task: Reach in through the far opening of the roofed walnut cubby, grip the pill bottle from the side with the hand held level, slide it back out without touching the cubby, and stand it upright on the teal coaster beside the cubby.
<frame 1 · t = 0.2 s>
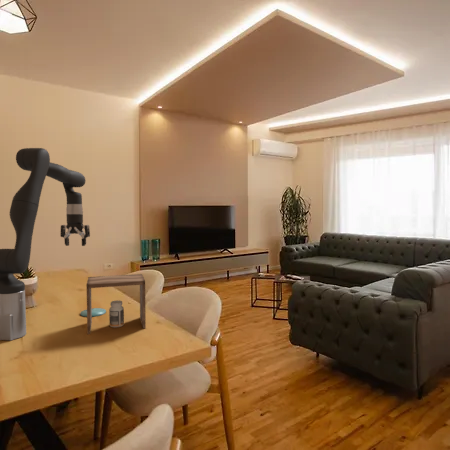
hand: (75, 245, 177), 29 cm above the table, tool pointing down, fingers open, 8 cm apart
pill bottle: (116, 325, 146), on the table
mat: (93, 313, 162), on the table
cubby: (116, 325, 146), on the table
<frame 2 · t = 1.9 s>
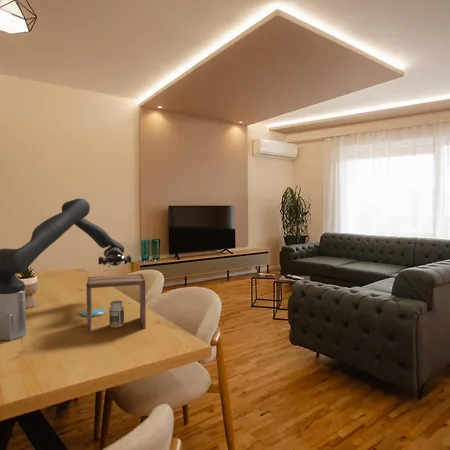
hand: (115, 262, 156), 24 cm above the table, tool horizontal, fingers open, 8 cm apart
nothing on the table moved.
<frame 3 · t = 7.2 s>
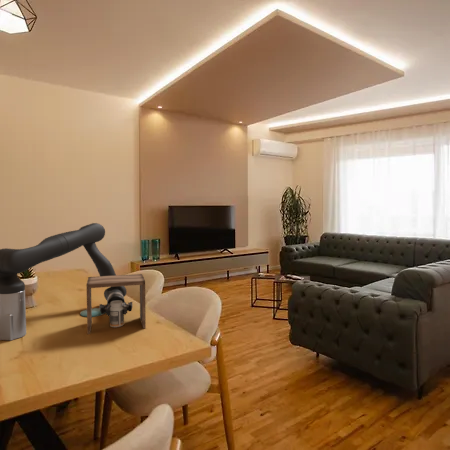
hand: (116, 312, 143), 6 cm above the table, tool horizontal, fingers closed on pill bottle, 5 cm apart
pill bottle: (116, 325, 146), on the table, touching gripper
when the fingers open (8 cm above the table, at t = 15.4 s): pill bottle drops 1 cm, resting on mat.
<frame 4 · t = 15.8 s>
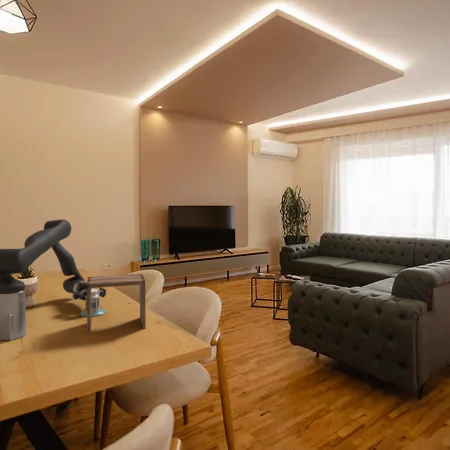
hand: (94, 296, 160), 8 cm above the table, tool horizontal, fingers open, 8 cm apart
pill bottle: (92, 312, 162), resting on mat
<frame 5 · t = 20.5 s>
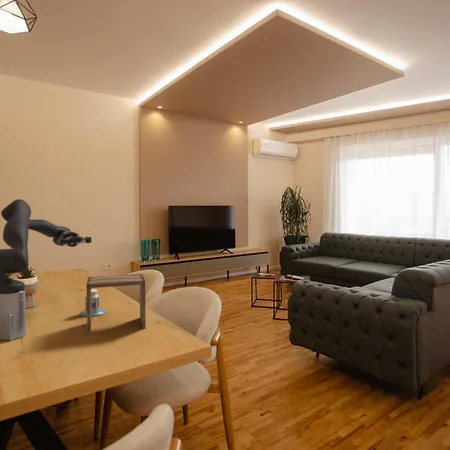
hand: (79, 241, 168), 32 cm above the table, tool horizontal, fingers open, 8 cm apart
nothing on the table moved.
at the end: pill bottle 0.3 cm off-centre on the mat, point 0.4 cm above the mat's base; pill bottle tilted 0°; the gripper is holding nothing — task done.
